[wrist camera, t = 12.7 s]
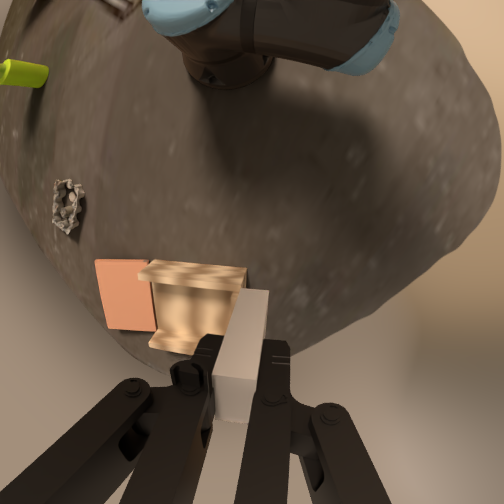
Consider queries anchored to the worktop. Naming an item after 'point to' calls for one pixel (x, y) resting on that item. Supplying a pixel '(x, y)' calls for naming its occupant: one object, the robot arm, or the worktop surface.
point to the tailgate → (126, 294)
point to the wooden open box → (191, 301)
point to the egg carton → (67, 211)
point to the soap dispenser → (23, 74)
